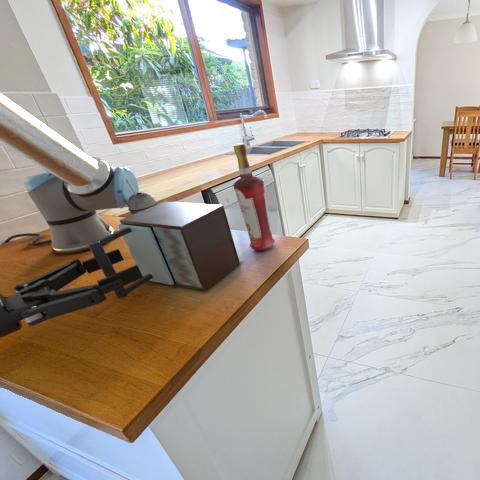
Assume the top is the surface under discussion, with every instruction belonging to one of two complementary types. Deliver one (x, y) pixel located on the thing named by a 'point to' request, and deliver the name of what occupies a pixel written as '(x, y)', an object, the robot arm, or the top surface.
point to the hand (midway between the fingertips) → (130, 262)
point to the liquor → (252, 202)
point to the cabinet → (191, 241)
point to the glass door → (134, 256)
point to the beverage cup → (139, 201)
